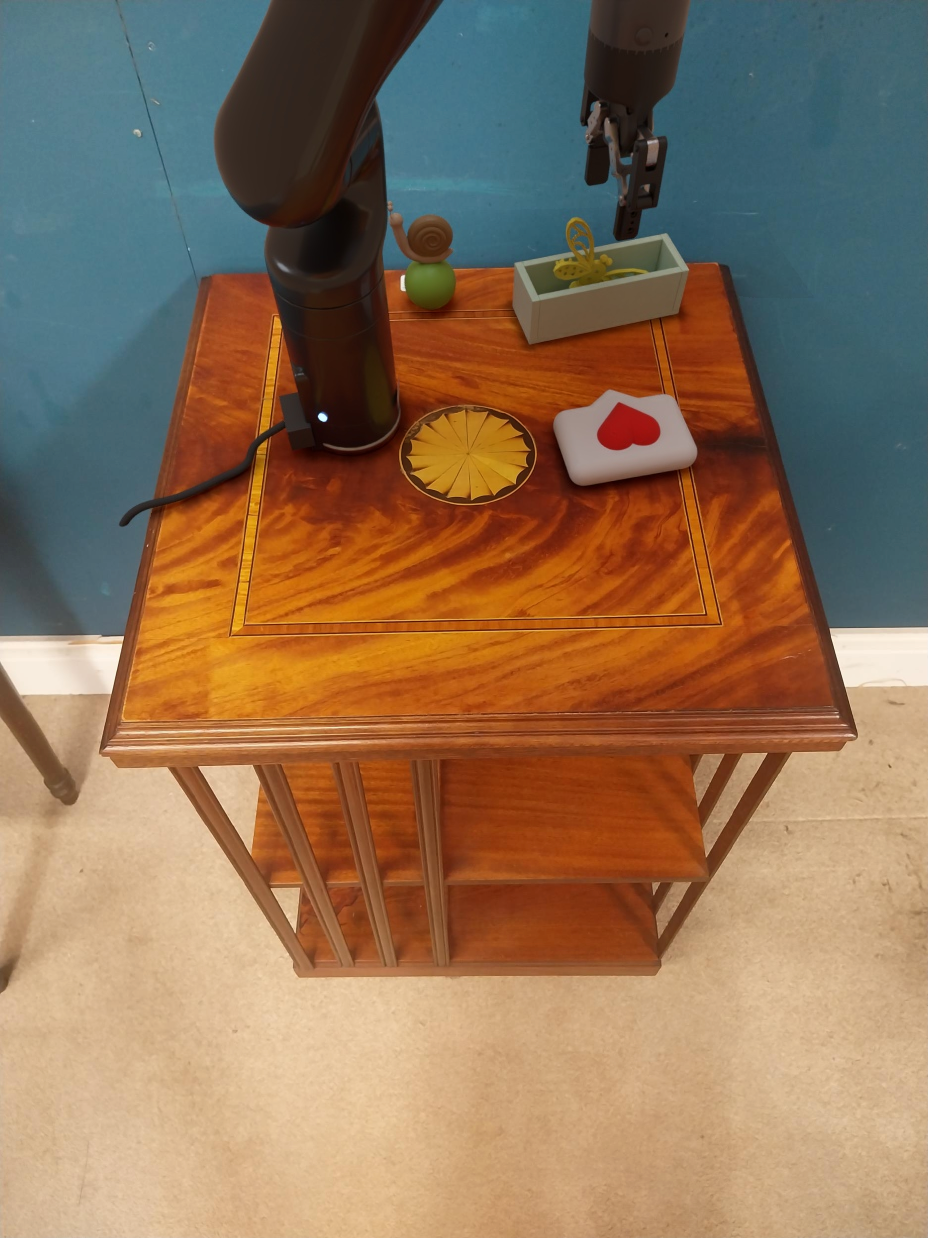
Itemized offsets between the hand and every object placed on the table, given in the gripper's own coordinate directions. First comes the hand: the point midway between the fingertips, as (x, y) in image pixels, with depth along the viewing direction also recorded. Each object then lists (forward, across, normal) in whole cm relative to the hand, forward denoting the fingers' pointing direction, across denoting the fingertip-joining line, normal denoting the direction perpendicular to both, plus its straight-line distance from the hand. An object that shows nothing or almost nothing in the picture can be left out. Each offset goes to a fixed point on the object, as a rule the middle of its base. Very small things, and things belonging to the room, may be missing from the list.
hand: (609, 209), depth 80 cm
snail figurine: (+12, +5, +17) cm, 22 cm away
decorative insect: (+11, -1, 0) cm, 11 cm away
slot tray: (+12, 0, 0) cm, 12 cm away
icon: (+12, -18, +4) cm, 22 cm away
